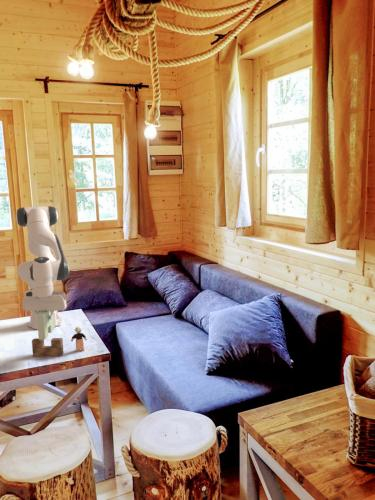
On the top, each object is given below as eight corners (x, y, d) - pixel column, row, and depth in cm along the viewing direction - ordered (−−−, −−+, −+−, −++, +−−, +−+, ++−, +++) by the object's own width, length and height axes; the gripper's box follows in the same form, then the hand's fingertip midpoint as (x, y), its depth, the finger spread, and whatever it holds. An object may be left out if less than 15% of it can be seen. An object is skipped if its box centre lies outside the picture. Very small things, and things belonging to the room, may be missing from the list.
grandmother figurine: (86, 347, 218) (84, 323, 216) (88, 350, 214) (86, 326, 212) (70, 350, 214) (69, 326, 212) (72, 353, 211) (71, 328, 209)
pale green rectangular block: (48, 329, 214) (46, 306, 213) (54, 329, 214) (52, 306, 213) (38, 339, 201) (37, 314, 199) (45, 339, 201) (43, 314, 199)
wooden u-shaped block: (33, 356, 208) (31, 340, 207) (35, 354, 211) (33, 338, 210) (61, 355, 208) (60, 340, 207) (63, 353, 211) (62, 337, 210)
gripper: (67, 289, 208) (69, 316, 210) (25, 290, 208) (27, 317, 210) (63, 292, 201) (65, 320, 203) (20, 293, 201) (22, 321, 203)
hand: (45, 319), depth 207 cm, fingers closed on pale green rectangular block, 3 cm apart
